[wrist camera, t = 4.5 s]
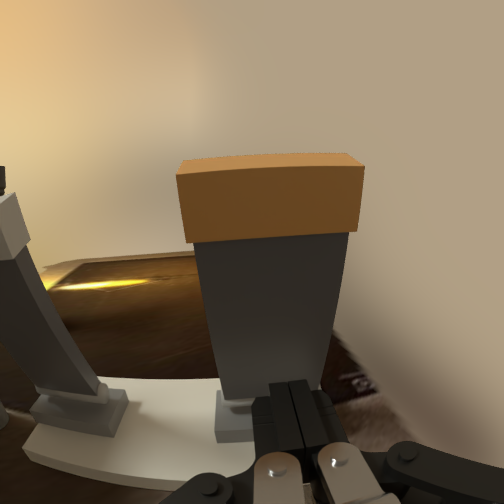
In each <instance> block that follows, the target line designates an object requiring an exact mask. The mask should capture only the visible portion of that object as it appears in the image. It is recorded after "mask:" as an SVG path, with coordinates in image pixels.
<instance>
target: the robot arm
mask: <svg viewBox="0 0 504 504" xmlns="http://www.w3.org/2000/svg"><path fill="white" fill-rule="evenodd" d="M251 412H252V423H253V435H254V446H255V460H254V462H253V464H252V466H251V467H250V468H249V469H247V470H246V471H244V472H242V473H240V474H237V475H234V476H230V477H227V478H226V477H225V476H223V475H221V474H218V473H212V472H207V473H201V474H198V475H196V476H194V477H192V478H191V479H190V480H188V481H187V482H186V483H185V484H183V485H182V486H181V487H180V488H178V489H177V490H176V491H175V492H173V493H172V494H171V495H169V496H168V497H167V498H165V499H164V500H163V501H161V502H160V503H159V504H305V499H304V490H303V484H306V483H310V484H311V488H312V495H311V499H312V503H313V504H504V469H503V468H498V467H494V466H490V465H486V464H482V463H478V462H475V461H471V460H468V459H464V458H461V457H457V456H454V455H451V454H448V453H445V452H442V451H439V450H436V449H433V448H430V447H427V446H424V445H421V444H418V443H416V442H412V441H403V442H399V443H396V444H395V445H393V446H392V447H391V448H390V449H389V450H388V452H363V451H360V450H359V449H358V448H357V447H355V446H354V445H352V444H350V443H349V441H348V439H347V436H346V434H345V432H344V429H343V427H342V425H341V422H340V420H339V418H338V416H337V415H336V411H335V409H334V407H333V404H332V402H331V399H330V397H329V396H328V395H327V394H326V393H325V392H323V391H322V390H321V389H319V390H312V391H311V390H310V387H309V385H308V382H307V380H306V379H302V380H294V381H288V382H278V383H268V396H263V397H256V398H255V400H254V402H253V403H252V405H251Z"/></svg>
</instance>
